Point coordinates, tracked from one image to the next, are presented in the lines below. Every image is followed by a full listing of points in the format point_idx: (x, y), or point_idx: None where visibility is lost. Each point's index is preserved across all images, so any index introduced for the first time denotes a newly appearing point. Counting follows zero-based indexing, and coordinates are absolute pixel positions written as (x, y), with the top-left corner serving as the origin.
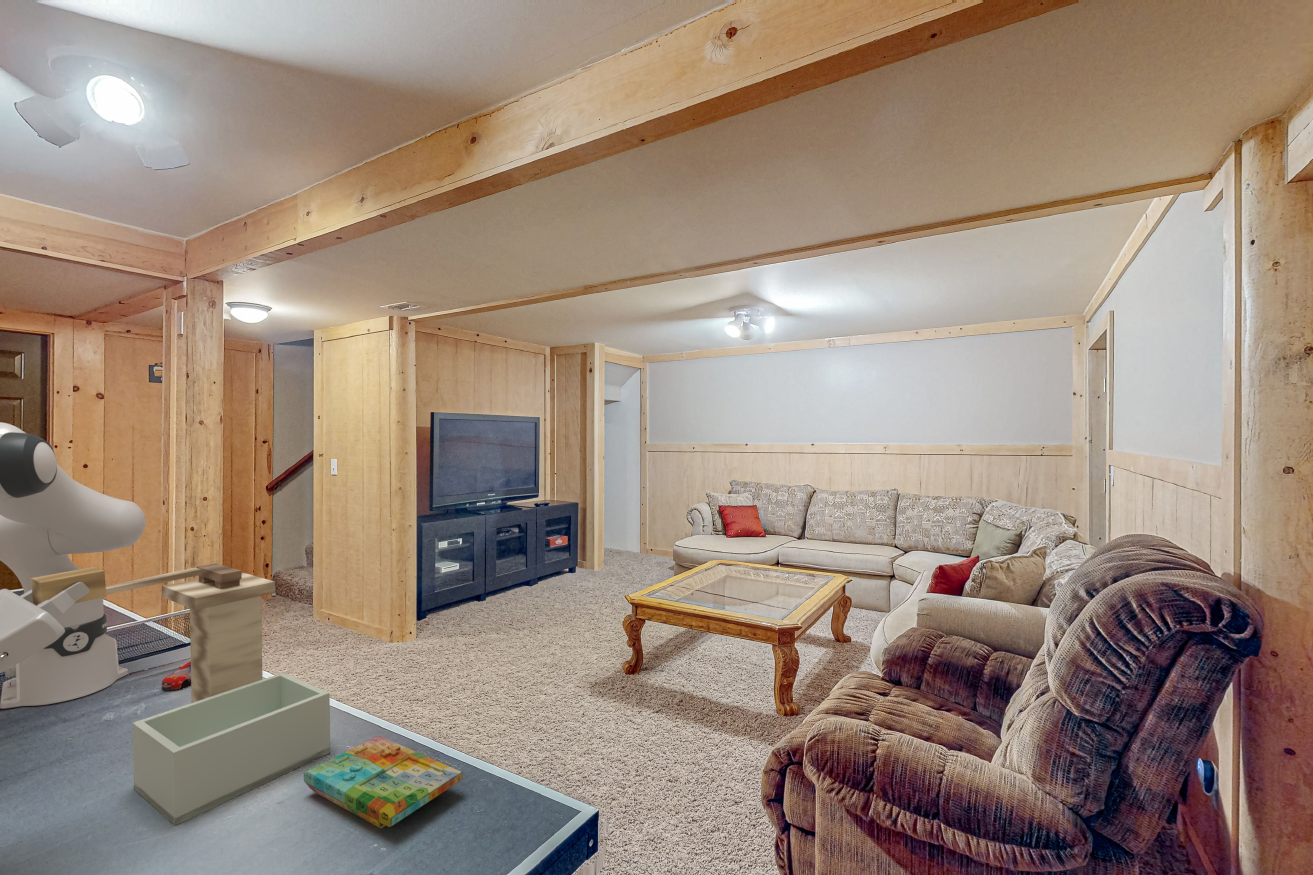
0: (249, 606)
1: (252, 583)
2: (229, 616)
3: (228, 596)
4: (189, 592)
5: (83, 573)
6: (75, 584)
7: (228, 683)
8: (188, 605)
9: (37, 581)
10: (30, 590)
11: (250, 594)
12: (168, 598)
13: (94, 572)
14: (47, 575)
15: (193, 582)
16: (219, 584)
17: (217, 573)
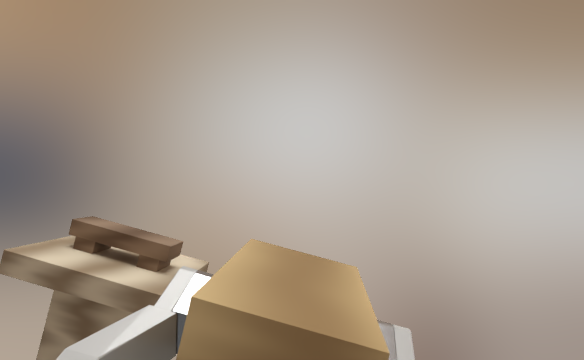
0: None
1: (182, 263)
2: None
3: None
4: (111, 276)
5: (341, 278)
6: (409, 340)
7: None
8: (124, 306)
9: (336, 338)
10: (72, 351)
11: None
12: (30, 280)
13: (359, 275)
14: (216, 276)
15: (62, 248)
16: (156, 263)
17: (153, 243)
